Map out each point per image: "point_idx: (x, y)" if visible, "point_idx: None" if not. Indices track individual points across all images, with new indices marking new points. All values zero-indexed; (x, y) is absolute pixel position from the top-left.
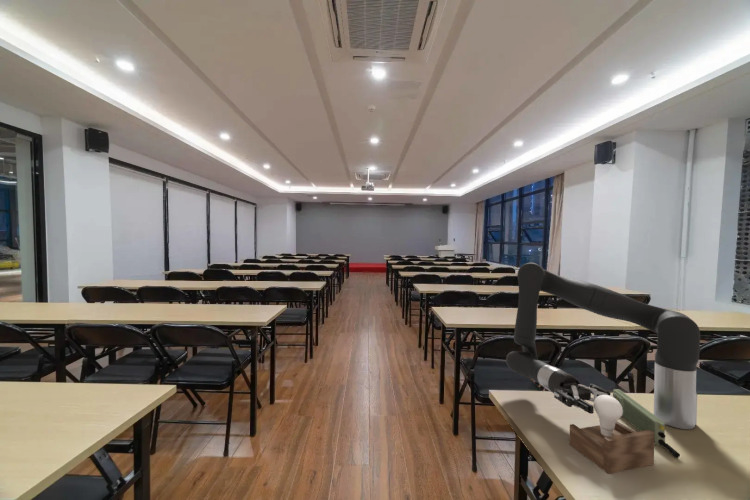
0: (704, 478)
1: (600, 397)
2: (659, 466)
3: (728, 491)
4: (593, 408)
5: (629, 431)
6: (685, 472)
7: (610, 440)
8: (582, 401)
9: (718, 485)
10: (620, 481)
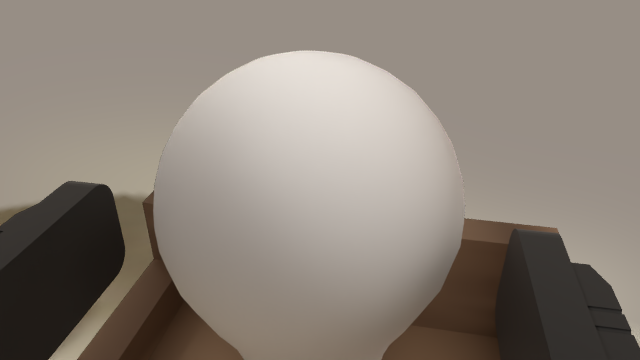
0: (125, 241)
1: (395, 108)
2: None
3: None
4: (508, 249)
5: (131, 345)
6: (137, 273)
7: (538, 226)
8: (594, 348)
9: (138, 218)
10: None
